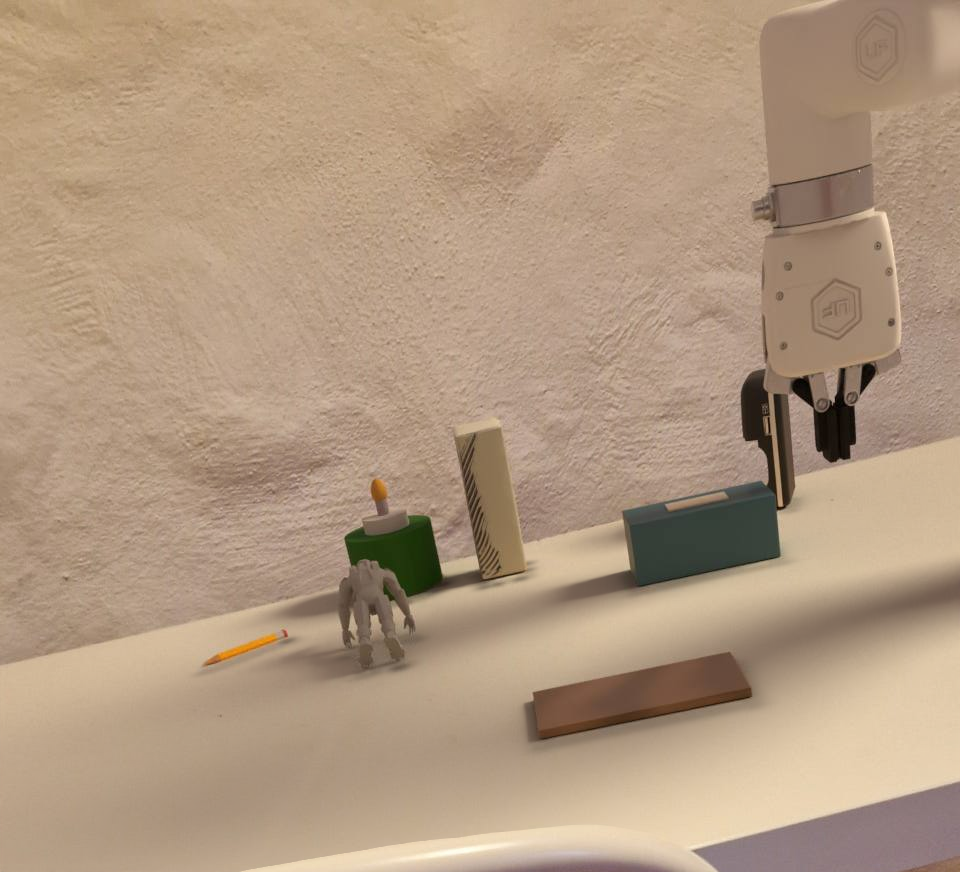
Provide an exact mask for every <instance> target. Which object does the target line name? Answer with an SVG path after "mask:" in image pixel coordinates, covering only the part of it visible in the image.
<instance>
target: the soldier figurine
mask: <svg viewBox="0 0 960 872" xmlns="http://www.w3.org/2000/svg"><path fill="white" fill-rule="evenodd" d="M348 574H349V575H348V576H347V577H345V576H344V577H343V578H342V579H341V581H340V583H339V586H338V591H339V592H338V593H339V603H338V604H337V610H338V611H337V612H338V618H339V621H340V626H341V630H342V631H341V635H342V636H341V637H342V641H343V642H342V643H343V645H344V646H345V648H347V649H351V648H353V645H352V643H351V642H352V641H351V640H353V641H356V638H355V636H354V634H353V633H352V631H351V630H349V629H350V622H351V615H352V614H353V618H354V619H353V620H354V622H355V623H354V624H355V625H356V628H357V629H356V633H355V634H356V636H357V638H358V639H357V640H358V644H359V645H358V657H357V664H359V665H360V668H362V669H363V668H364V667H367V668H370V667H371V665H372V664H373V663H374V662H375V661H374V658H373V657H372V652H374V649H373V648H374V647H373V643H372V642H371V636H372V630H371V627H372V621H371V617H373V616H377V617H378V619H377V620H378V623H379V624H380V625H381V626H380V631H381V632H382V633H383V635H384V638H383V643H384V646H385V648H386V649H389V651H390V654H389V657H390V658H391V659H394V660H396V661H400V659H404V658H405V656H406V654H405V653H406V650H405V648H404V646H402V645H401V643H400V640H399V637H397V632H396V631H397V630H396V622H395V621H394V612H393V607H392V604H391V600H389V598H388V596H387V595H384V593H383V588H384V586H383V584H385V586H386V587H387V589H388V591H389V592H390V593H391V594H392V595H393V597H394V598H395V599H394V601H395V604H396V606H397V607H398V608H399V609H400V611H401V613H402V615H404V616H405V617H404V620H403V629H404V630H405V629H406V628H407V626H408V630H409V631H408V633H409V634H414V633H416V628H417V627H416V621H415V619H414V617H413V614H412V612H411V608H410V604H409V599H408V596H406V594H405V592H404V590H403V589H401V587H400V585H399V583H398V581H397V578H396V576H395V574H394V573H393V572H392V571H391V570H390V569H388V568H385V569H381V568H379V564H378V562H377V561H372V562H370V561H369V560H367V559H364V560H360V561H359V562H358V563H357V566H356V567H355V565H353V566H351V565H350V566H349V568H348ZM354 595H355V599H356V601H353V599H354V598H353V596H354ZM352 604H353V605H352ZM351 606H352V607H353V608H352V609H353V613H351Z"/></svg>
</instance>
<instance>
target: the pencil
mask: <svg viewBox="0 0 960 872" xmlns="http://www.w3.org/2000/svg"><path fill="white" fill-rule="evenodd" d="M288 635H289V633H288V632H287V630H286V629H281V630H278V631H277V632H274V633H271V634H268V635H265V636H262V637H260V638H257V639H255V640H252V641H249V642H247V643H243V644H241V645H238V646H236V647H233V648H230V649H227V650H224V651H222V652H220V653H217V654H215V655H214V656H212V657H210V658H209V659H207V660H206V661H204V662H203V663H202V664H201V666H205V665H207V666H208V665H213V664H217V663H220V662H223V661H226V660H228V659H231V658H234V657H237V656H239V655H243V654H245V653H248V652H250V651H253V650H256V649H258V648H262V647H263V646H267V645H269V644H272V643H274V642H277V641H281V640H282V639H286V638H288V637H289V636H288Z"/></svg>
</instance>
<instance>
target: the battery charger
mask: <svg viewBox="0 0 960 872" xmlns="http://www.w3.org/2000/svg"><path fill="white" fill-rule="evenodd" d="M765 370H766V368H762V369H756V370H754V371H751V372H750V373H749V374H748V375H747V377H746V378H745V380H744V382H743V384H742V386H741V390H740V412H741V413H740V418H741V430H742V438H744V441H745V442H755V441H756V442H757V447H758V448H759V449H760V450H761V451H762V452H763V453H764V454H765V457H766V464H767V475H768V476H767V477H768V480H767V483H766V484H765V485H766V486H767V487H768V488H769V489H770V490H771V491H772V492H773V493H774V494H775V496H776V508H777V507H778V508H783V507H784V506H789V505H790V504H791V501H792V499H793V496H794V492H795V489H796V478H795V466H794V453H793V441H792V427H791V415H790V403H789V394H771V393H769V392H767V391H766V390H765V389H764V385H763V384H764V377H765Z"/></svg>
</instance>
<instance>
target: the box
mask: <svg viewBox="0 0 960 872" xmlns="http://www.w3.org/2000/svg"><path fill="white" fill-rule="evenodd" d="M452 434H453V439H454V444H455V449H456V454H457V459H458V464H459V468H460V475H461V479H462V484H463V485H462V486H463V490H464V495H465V499H466V506H467V511H468V515H469V520H470V521H469V522H470V526H471V531H472V537H473V542H474V547H475V553H476V558H477V563H478V568H479V572H480V575H481V578H482V580H489V579H495V578H499V577H504V576H508V575H513V574H518V573H522V572H525V571H527V570H528V565H527V560H526V553H525V548H524V543H523V536H522V530H521V524H520V519H519V513H518V507H517V506H518V505H517V501H516V495H515V489H514V483H513V477H512V472H511V466H510V461H509V454H508V448H507V443H506V439H505V433H504V427H503V425H502V422H501V420H500V419H499V417H496V416H495V417H490V418H484V419H481V420H477V421H473V422H469V423H468V422H467V423H463V424H459V425H456V426H453V427H452Z"/></svg>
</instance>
